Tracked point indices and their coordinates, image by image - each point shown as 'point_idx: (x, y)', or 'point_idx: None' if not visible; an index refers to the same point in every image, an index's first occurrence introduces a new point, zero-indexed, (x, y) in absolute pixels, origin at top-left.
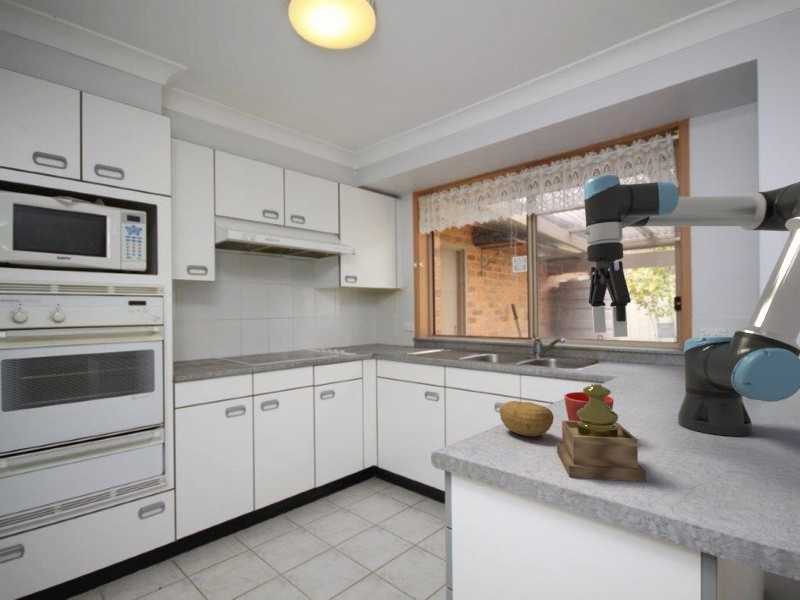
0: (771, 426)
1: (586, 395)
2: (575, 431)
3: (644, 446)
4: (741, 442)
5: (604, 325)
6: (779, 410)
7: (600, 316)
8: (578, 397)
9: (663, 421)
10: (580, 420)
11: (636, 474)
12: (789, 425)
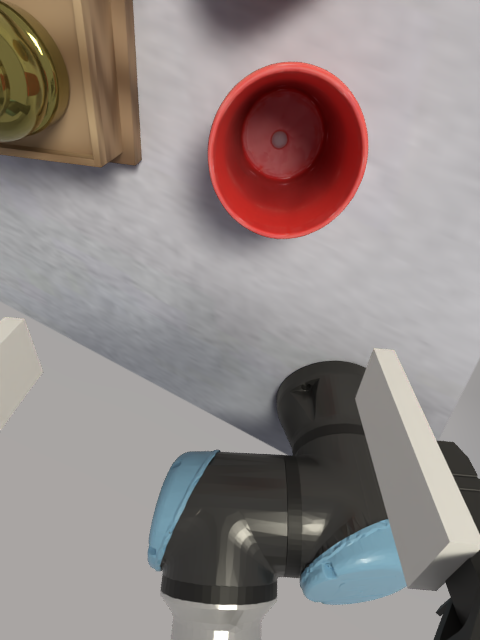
0: None
1: (351, 180)
2: (32, 2)
3: (213, 237)
4: (248, 387)
5: (366, 430)
6: None
7: (393, 476)
8: (354, 147)
9: None
10: (18, 21)
11: None
12: None
